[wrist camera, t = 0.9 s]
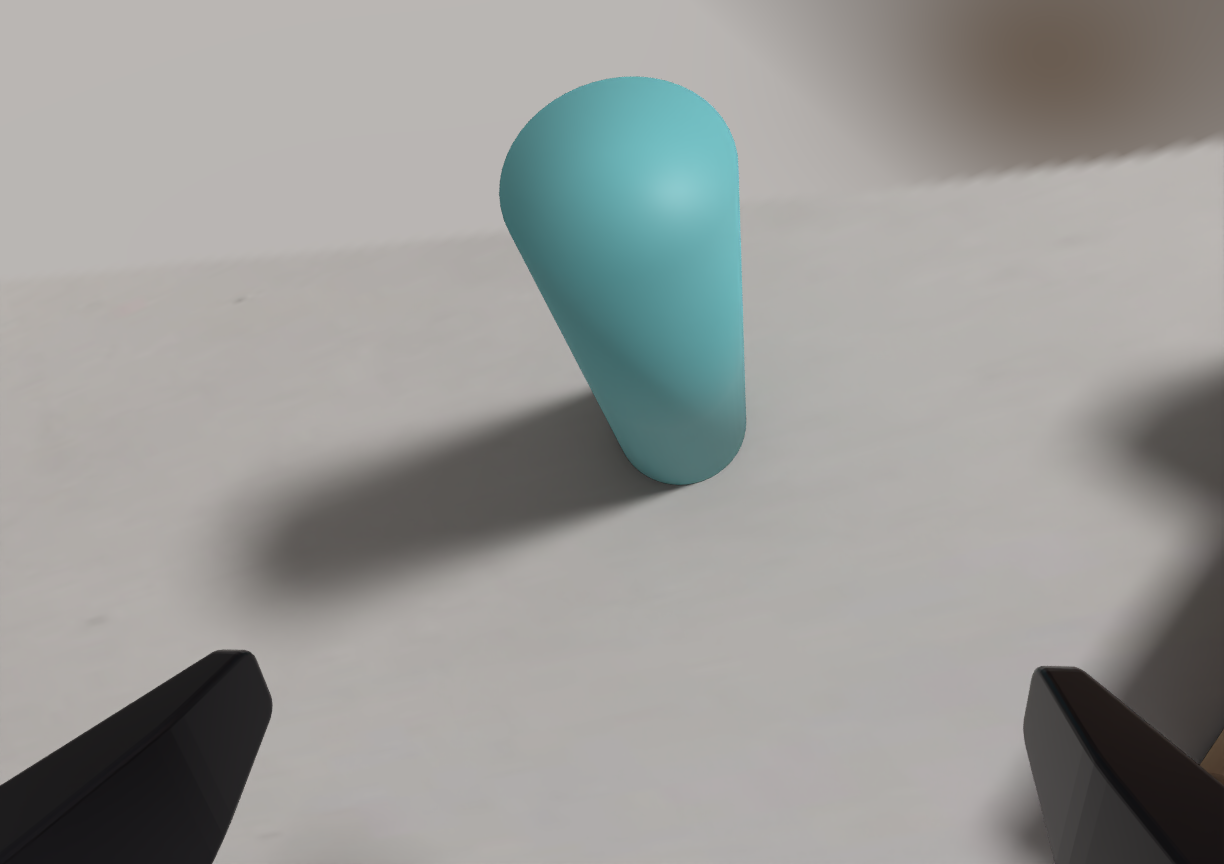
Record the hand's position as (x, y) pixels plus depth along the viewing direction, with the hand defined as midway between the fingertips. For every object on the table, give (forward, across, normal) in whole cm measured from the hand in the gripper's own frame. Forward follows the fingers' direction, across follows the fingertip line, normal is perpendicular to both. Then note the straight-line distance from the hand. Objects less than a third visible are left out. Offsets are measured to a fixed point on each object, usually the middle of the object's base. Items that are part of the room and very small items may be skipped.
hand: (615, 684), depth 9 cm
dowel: (+16, 0, +5) cm, 16 cm away
